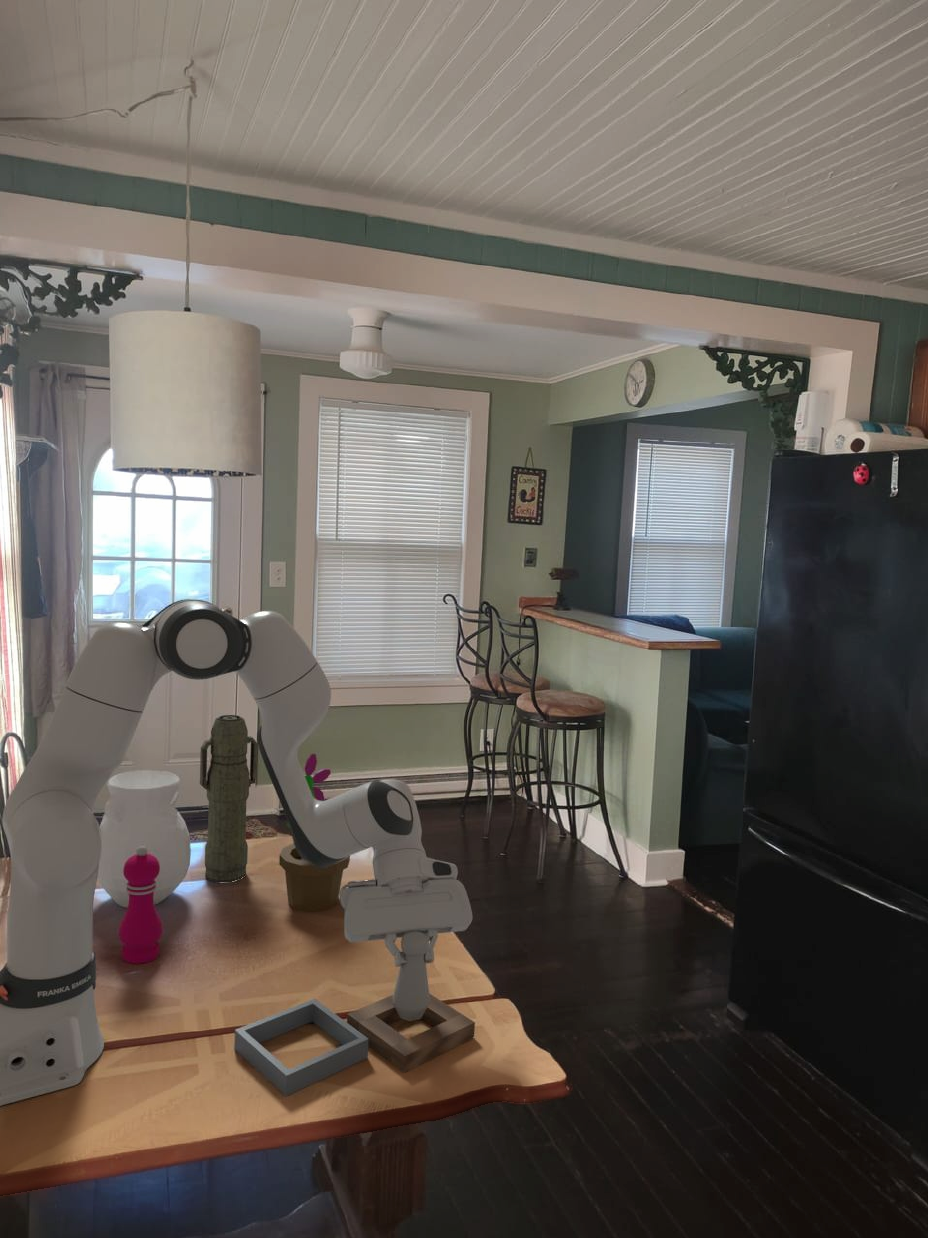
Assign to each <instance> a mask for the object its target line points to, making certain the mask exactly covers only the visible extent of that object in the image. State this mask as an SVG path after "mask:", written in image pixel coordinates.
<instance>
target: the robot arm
mask: <svg viewBox="0 0 928 1238" xmlns="http://www.w3.org/2000/svg"><path fill="white" fill-rule="evenodd" d="M86 643H87V644H86V645H85V647H84V648H83V649H82V651H81V653H80V654H79V656H78V658H77V660H76V662H75V664H74V665H73V668H72V670H71V671H70V674H69V676H68V678H67V681H66V683H65V685H64V688H63V690H62V692H61V695H60V697H59V699H58V701H57V704H56V706H55V708H54V711H53V713H52V716H51V719H50V721H49V723H48V725H47V728H46V730H45V733H44V734H43V736H42V739H41V741H40V742H39V745H38V746H37V748H36V750H35V751H34V754H33V755H32V756H31V758H30V759H29V761H28V763H27V764H26V766H25V768H24V769H23V772H22V773H21V775H20V777H19V779H18V781H17V783H16V784H15V786H14V788H13V789H12V791H11V792H10V794H9V795H8V798H6V799H7V800H6V802H5V805H4V807H3V813H2V827H3V831H4V833H5V836H6V840H7V844H8V848H9V853H10V854H9V855H10V860H11V862H10V865H11V866H10V868H11V871H10V887H9V899H8V907H7V911H6V962H5V963H4V966H2V969H1V970H0V1107H1V1106H4V1105H7V1104H11V1103H15V1102H20V1101H23V1100H25V1099H30V1098H32V1097H37V1096H40V1095H45V1094H48V1093H52V1092H56V1091H59V1090H63V1089H66V1088H67V1089H68V1088H70V1087H75V1086H76V1085H78V1084H79V1083H81V1082H82V1080H83V1078H84V1077H85V1074H86V1071H87V1069H88V1068H89V1067H90V1066H92V1065H93V1064H94V1063H95V1062H96V1061H97V1060H98V1058H99V1057H101V1054H102V1052H103V1050H104V1048H105V1047H104V1046H105V1041H104V1037H103V1036H102V1032H101V1028H100V1025H99V1021H98V1016H97V1010H96V1002H95V992H94V991H95V990H96V986H97V985H96V983H97V982H96V981H97V971H98V970H97V969H98V968H97V961H96V952H95V951H94V949H93V947H94V946H93V943H94V941H93V940H94V935H93V934H94V929H93V927H94V923H93V922H94V901H95V893H96V887H97V882H98V878H97V876H98V869H99V861H100V857H101V851H102V836H101V829H100V824H99V823H100V822H98V820H97V818H96V816H95V815H94V813H93V811H94V810H93V809H94V806H95V802H96V800H97V798H98V796H99V795H100V792H101V791H102V790H103V788H104V786H105V784H107V781H109V779H110V778H111V776H112V774H113V773H114V771H115V770H116V769H118V768H119V767H120V766H121V764H122V763H123V761H124V759H125V757H126V754H127V752H128V751H129V750H128V749H129V747H130V745H131V742H132V740H133V737H134V735H135V732H136V730H137V727H138V725H139V722H140V720H141V718H142V715H143V713H144V711H145V708H146V705H147V703H148V700H149V697H150V694H151V692H152V690H153V688H154V687H155V686H156V685H157V683H158V681H159V680H160V679H161V678H162V677H163V676H164V675H166V674H169V673H171V672H174V673H175V674H176V675H178V676H180V677H182V678H185V679H189V680H207V679H212V678H215V677H218V676H223V675H225V674H229V673H230V674H231V673H236V674H237V675H238V677H239V678H240V679H241V680H242V681H243V683H244V685H245V686H246V688H247V689H248V691H249V693H250V694H251V696H252V698H253V700H254V701H255V703H256V705H257V708H258V710H259V714H260V719H261V724H260V726H259V728H258V730H257V733H256V734H257V735H256V739H257V746H258V750H259V753H260V755H261V758H262V761H263V763H264V766H265V769H266V770H267V771H266V772H267V774H268V776H269V779H270V781H271V783H272V785H273V788H274V790H275V793H276V795H277V797H278V798H277V799H278V800H279V802H280V805H281V807H282V809H283V812H284V814H285V817H286V819H287V823H289V826H290V830H289V831H290V834H291V838H292V843H294V845H295V848H296V850H297V852H298V854H299V855H300V856H301V857H302V858H303V859H304V860H306V861H307V862H309V863H311V864H313V865H315V866H318V867H321V868H326V867H329V866H331V865H333V864H334V863H336V862H338V861H340V860H342V859H344V858H346V857H347V856H350V857H351V856H352V855H355V854H357V853H360V852H363V851H365V850H367V849H370V848H372V850H373V855H372V856H373V857H372V869H373V876H374V878H373V879H364V880H360V881H359V880H358V881H357V880H352V881H348V882H347V884H344V885H343V886H342V887H340V892H339V899H340V905H341V907H342V908H343V909H344V915H343V916H344V921H343V929H344V930H343V931H344V937H345V940H347V941H348V942H350V943H361V942H370V941H371V942H372V941H379V940H384V945H385V948H386V949H387V950H388V952H389V953H390V954H391V955H392V956H393V959H394V966H395V967H396V968H400V966H404V965H405V964H407V959H406V954H405V953H404V952H403V951H402V950H400V949H399V947H398V946H397V945H396V941H397V939H398V938H399V939H400V938H401V939H402V937H403V936H404V935H405V934H406V933H408V932H412V931H417V932H421V933H424V934H425V935H426V936H427V937H428V940H429V949H428V951H427V952H426V954H424V955H425V957H424V959H425V963H426V964H432V963H434V961H435V951H434V948H435V945H436V942H437V940H438V938H439V934H446V933H448V934H449V933H457V932H464V931H466V930H467V929H468V928H469V926H470V925H471V923H472V921H473V912H472V907H471V903H470V899H469V897H468V893H467V890H466V888H465V886H464V884H463V883H462V882H461V881H460V880H458V879H457V877H458V874H459V873H458V872H459V871H458V867H457V865H456V864H454V863H451V862H446V861H443V860H438V859H434V858H430V857H428V856H427V853H426V851H425V848H424V846H423V844H422V834H423V833H422V832H423V831H422V824H421V818H420V814H419V811H418V806H417V803H416V800H415V797H414V795H413V792H412V790H411V788H410V786H409V785H408V784H407V783H406V782H404V781H402V780H400V779H399V780H398V779H394V778H386V779H381V780H374V781H369V782H366V783H363V784H362V785H357V786H356V787H353V788H350V789H349V790H347V791H346V792H343V793H340V794H338V795H336V796H333V797H331V798H328V799H326V800H325V799H324V800H323V801H319V800H316V799H315V798H314V797H313V795H312V793H311V791H310V788H309V786H308V783H307V781H306V778H305V774H304V771H303V769H302V765H301V764H300V761H299V757H298V750H299V747H300V746H301V745H302V744H303V742H305V741H306V739H307V738H309V736H310V735H311V734H312V733H313V732H314V731H315V730H316V729H317V728H318V727H319V725H320V724H321V722H323V720H324V718H325V716H326V715H327V713H328V711H329V709H330V705H331V700H332V689H331V686H330V682H329V680H328V677H327V675H326V673H325V672H324V670H323V668H322V666H321V665H320V663H319V662H318V660H317V659H316V657H315V655H314V653H313V652H312V650H311V649H310V648H309V646H308V645H307V643H306V641H305V640H304V639H303V638H302V636H301V635H300V634H299V633H298V631H297V630H296V628H294V626H293V625H292V624H291V623H290V622H289V620H287V619H286V618H285V617H284V615H282V614H281V613H279V612H277V611H272V610H261V611H257V612H254V613H250V614H249V615H247V616H246V617H244V618H242V619H241V618H240V619H239V618H236V617H234V616H233V615H231V614H230V613H228V612H226V611H224V610H222V609H221V608H220V607H218V606H217V605H216V604H213V603H212V602H209V601H207V600H202V599H196V598H195V599H192V598H190V599H189V598H187V599H180V600H177V601H175V602H172V603H170V604H169V605H168V604H167V606H165V607H164V608H162V609H161V610H160V611H159V612H157V614H154V616H153V617H151V618H150V619H149V620H147V621H146V622H144V623H143V624H142V625H141V626H140V625H136V624H134V623H130V622H121V621H119V622H117V621H116V622H108V623H105V624H103V625H102V626H99V627H98V628H97V630H95V631H94V633H93V634H92V636H91V637H90V639H89V640H88V641H87V642H86Z"/></svg>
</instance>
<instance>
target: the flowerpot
mask: <svg viewBox="0 0 928 1238" xmlns="http://www.w3.org/2000/svg"><path fill="white" fill-rule="evenodd" d="M317 763H318V760H317V755H316V753H311V754H310V755H309V756H308V757H307V759H306V762H305V765H304V772H305V774H304V776H305V778H306V781H307V783H308V786H309V788H310V791H311V793H312V795H313V797H314V798H315V799H316V800H319V801H325V795H324V792H323V791H322V790H321V789H320V788H319V787H317V786H314V784H315V783H316V784H320V783H322V782H323V781H326V780H327V779H328V778H329V776H330V775H331V774H332V772H331V769H329V768H321V769H320V770H318V771H316V767H317V765H318V764H317ZM315 771H316V772H315ZM312 774H314V775H313V776H312ZM285 825H286V827H287V828H290V826H289V823H288V822H287V823H286V824H285ZM278 858H279V860H278V861H279V863H278V865H279V866H280V867H281V868H282V869H283V870H284V872H285V883H286V893H287V894H286V895H287V903H288V902H289V903H288V904H289V905H290V906H291V907H292V908H294V909H296V910H300V911H302V912H320V911H322V912H323V911H326V910H330V909H331V908H334V907H335V906H337V904H338V902H339V899H340V890H341V886H342V881H343V880H342V879H343V874H344V870H345V869H347V868H349V865H350V861H351V859H350V858H351V855H350V856H347V857H346V858H344V859H342V860H340V861H338V862H336V863H334V864H333V865H331V866H329V867H326V868H321V867H318V866H315V865H313V864H311V863H309V862H307V861H306V860H304V859H303V858H302V857H301V856H300V855H299V854H298V852H297V850H296V848H295V845H294V842H292V843H291V844H289V845H287V846H284V847H282V850H281V851H280V853H279V857H278Z"/></svg>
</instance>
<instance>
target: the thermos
mask: <svg viewBox="0 0 928 1238" xmlns="http://www.w3.org/2000/svg"><path fill="white" fill-rule="evenodd" d="M246 724H247V722H246V720H245V718H244V717H242V716H240V715H234V714H225V715H220V716H218V717H216V718H215V719H214V721H213V725H212V726H211V727H212V728H211V731H210V734H211V735H210V738H209V739H208V740H204V741H203V743H202V744H201V746H200V760H199V761H200V763H199V765H200V767H199V769H200V770H199V785H200V786H201V787H202V788H203V789H204V790H206V799H207V801H208V818H207V819H208V822H207V823H208V824H207V827H208V828H207V841H206V844H205V846H204V867H205V873H204V876H205V879H206V880H207V879H208V881H209V882H211V881H213V882H212V883H215V882H218V883H217V884H220V883H219V882H232V881H235V880H238V879H241V878H242V877H244V876H245V875H246V876H247V864H248V853H249V845H248V843H247V839H246V836H247V835H246V832H247V830H246V829H247V800H248V799H249V795H250V788H251V786H252V785H255V784H256V780H257V761H258V760H257V759H258V757H257V755H258V742H257V741H256V740H255V738H254V737H253V736H252V735H251V736H249V731H248V727H247V725H246ZM248 744H250V760H249V761H250V763H249V766H248V759H247V754H248ZM209 747H210V756H211V758H210V761H209V762H210V765H209V767H208V749H209ZM246 876H245V877H246ZM245 877H244V878H245ZM232 883H233V882H232Z"/></svg>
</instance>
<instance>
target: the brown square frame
mask: <svg viewBox="0 0 928 1238" xmlns="http://www.w3.org/2000/svg"><path fill="white" fill-rule="evenodd" d="M429 996H430V1003H429V1006H428V1007H427V1009H426V1010H425V1012H424V1014H423V1016H422V1018H421V1020H423V1021H424V1022H425V1023H427V1024H428V1025H430V1026H432V1027H431V1028H429V1029H426V1030H424V1031H421V1032H420V1033H418V1034H416V1035H414V1036H411V1037H409V1038H407V1037H405V1036H404V1035H402V1034H401V1033H400V1032H399V1031H397V1030H395V1029H394V1028H393V1027H391V1026H390V1025H391V1024H393V1023H395V1022H397V1021H400V1020H402V1019H401V1018H400V1017H399V1014H398V1012H397V1010H396V1008H395V1006H394V1005H393V994H392V995H390V996H386V997H384V998H382V999H379V1000H377V1001H375V1002H372V1003H369V1004H368V1005H365V1006H363V1007H361V1008H358V1009H355V1010H354V1011H352V1012H349V1013H347V1015H346V1020H347V1021H346V1022H347V1023H348V1024H349V1025H351V1026H352V1027H353V1028H355V1029H356V1030H357V1031H359V1032H360V1033H361V1034H363V1035H364V1036H365V1037H367V1038H368V1039H369V1041H368V1047H370V1048H371V1049H373V1050H374V1051H375V1052H377V1053H378V1054H379V1055H380V1056H382V1057H383V1058H384V1059H386V1060H387V1061H388V1062H390V1063H391V1064H392V1065H394V1066H395V1067H397V1069H399V1070H400V1071H401V1072H403V1073H406V1072H408V1071H411V1070H412V1069H413V1068H416V1067H418V1066H420V1065H423V1064H424V1063H426V1062H428V1061H430V1060H431V1059H434V1058H435V1057H438V1056H440V1055H442V1054H444V1053H445V1052H446V1053H447V1052H448V1051H450V1050H452V1049H454V1048H456V1047H459V1046H460V1045H462V1044H464V1043H466V1042H469V1041H470V1040H472V1039H474V1038H475V1028H476V1027H475V1025H476V1022H475V1021H474V1020H472V1019H471V1018H468V1017H467V1016H465V1015H464V1014H463V1013H461V1012H460V1011H458V1010H457V1009H454V1008H453V1007H452V1006H450V1005H448V1004H447V1003H446V1002H444V1001H442V1000H440V999H439V998H437V997H435V996H434V995H433V994H431V993H429ZM473 1037H474V1038H473ZM469 1039H470V1040H469Z"/></svg>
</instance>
